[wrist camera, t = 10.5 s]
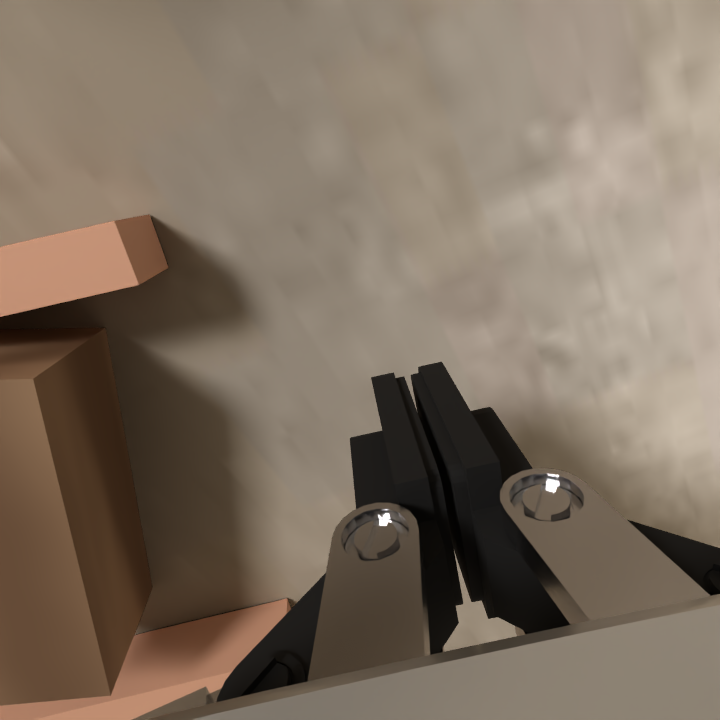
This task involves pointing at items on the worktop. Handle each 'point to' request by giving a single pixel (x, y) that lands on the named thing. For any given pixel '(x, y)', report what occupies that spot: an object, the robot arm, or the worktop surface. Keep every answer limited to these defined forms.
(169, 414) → the worktop surface
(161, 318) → the worktop surface
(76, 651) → the t block
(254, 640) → the frame
